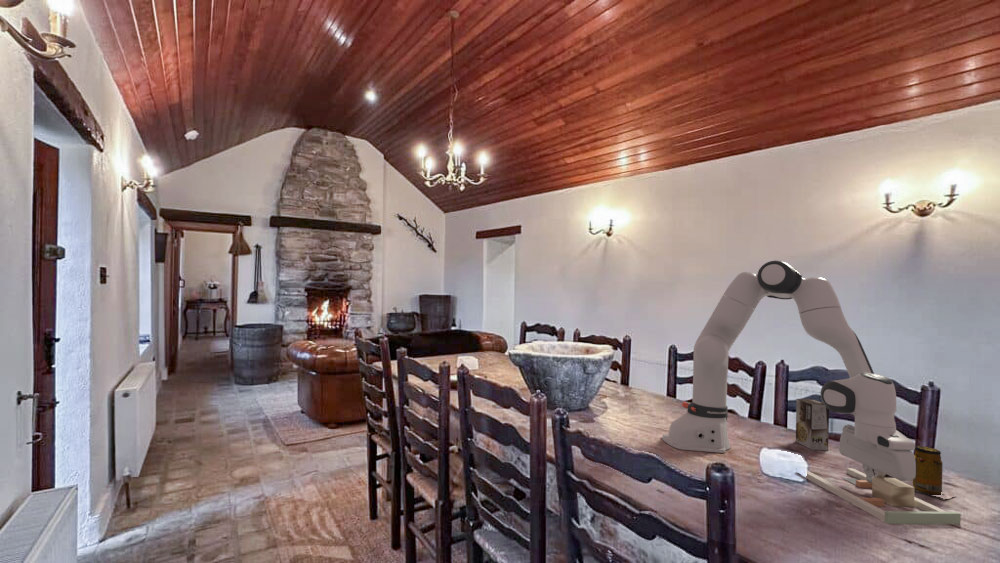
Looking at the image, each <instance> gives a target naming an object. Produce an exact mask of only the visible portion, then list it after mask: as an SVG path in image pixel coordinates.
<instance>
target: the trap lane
mask: <svg viewBox="0 0 1000 563" xmlns="http://www.w3.org/2000/svg"><path fill="white" fill-rule="evenodd" d="M806 470H807V469H806ZM846 474H847V475H849V476H851V477H842V479H843V480H844V481H847V482H848V483H851V484H852V485H853V486H854V485H855V486H857V487H858V488H864V489H865V488H869V489H870V488H871V489H872V484H871V483H869V482H867V481H866V474H865V472H862V471H860V470H858V469H855V468H852V467H851V468H850V467H847V468H846ZM805 479H807V480H808V481H810V482H812V483H814V484H816V485H818V486H820V487H821V488H823V489H825V490H827V491H828V492H830V493H832V494H834V495H836V496H837V497H839V498H840V499H842V500H843V501H844V500H845V501H846V502H848V503H849V504H852V505H853V506H856V507H858V508H859V509H861V510H862V511H865V512H866V513H868V514H870V515H872V516H874V517H876V518H877V519H879V520H881V521H882V522H884V523H886V524H888V525H961V519H962V518H961V517H962V516H961V515H962V514H961V513H960V512H958V511H946V510H944V509H942V508H940V507H938V506H936V505H933V504H931V503H929V502H926V500H922V499H921V498H918V497H916V496H914V507H916V508H918V509H921V510H922V511H918V510H917V511H913V510H912V511H911V510H909V511H906V510H884V509H881V508H880V507H885V503H884V500H882V499H880V498H876V497H858V496H856V495H855V494H853V493H851V492H849V491H847V490H845V489H843V488H841V487H839V486H837V485H836V484H834V483H832V482H830V481H828V480H827V479H825V478H822V477H821V476H819V475H817V474H815V473H813V472H812V471H809V470H807V476H806V478H805Z"/></svg>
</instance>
